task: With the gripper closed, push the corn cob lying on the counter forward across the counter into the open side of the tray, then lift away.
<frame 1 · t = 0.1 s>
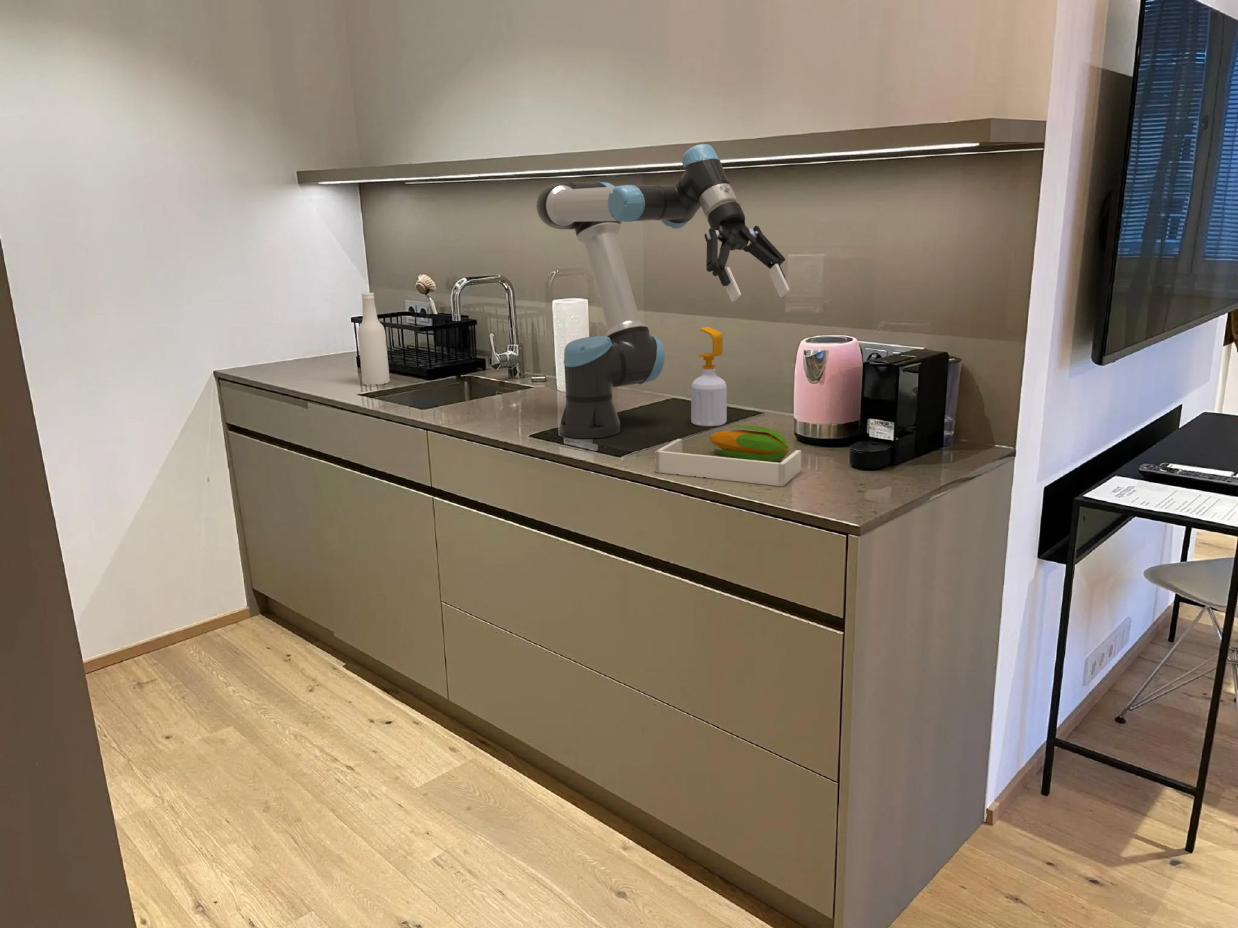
hand: (761, 296, 194), 36 cm above the table, tool tilted 35°, fingers open, 13 cm apart
corn: (745, 459, 206), on the table
soap bottle: (708, 423, 241), on the table
alcohol: (376, 384, 310), on the table
tray: (727, 471, 196), on the table
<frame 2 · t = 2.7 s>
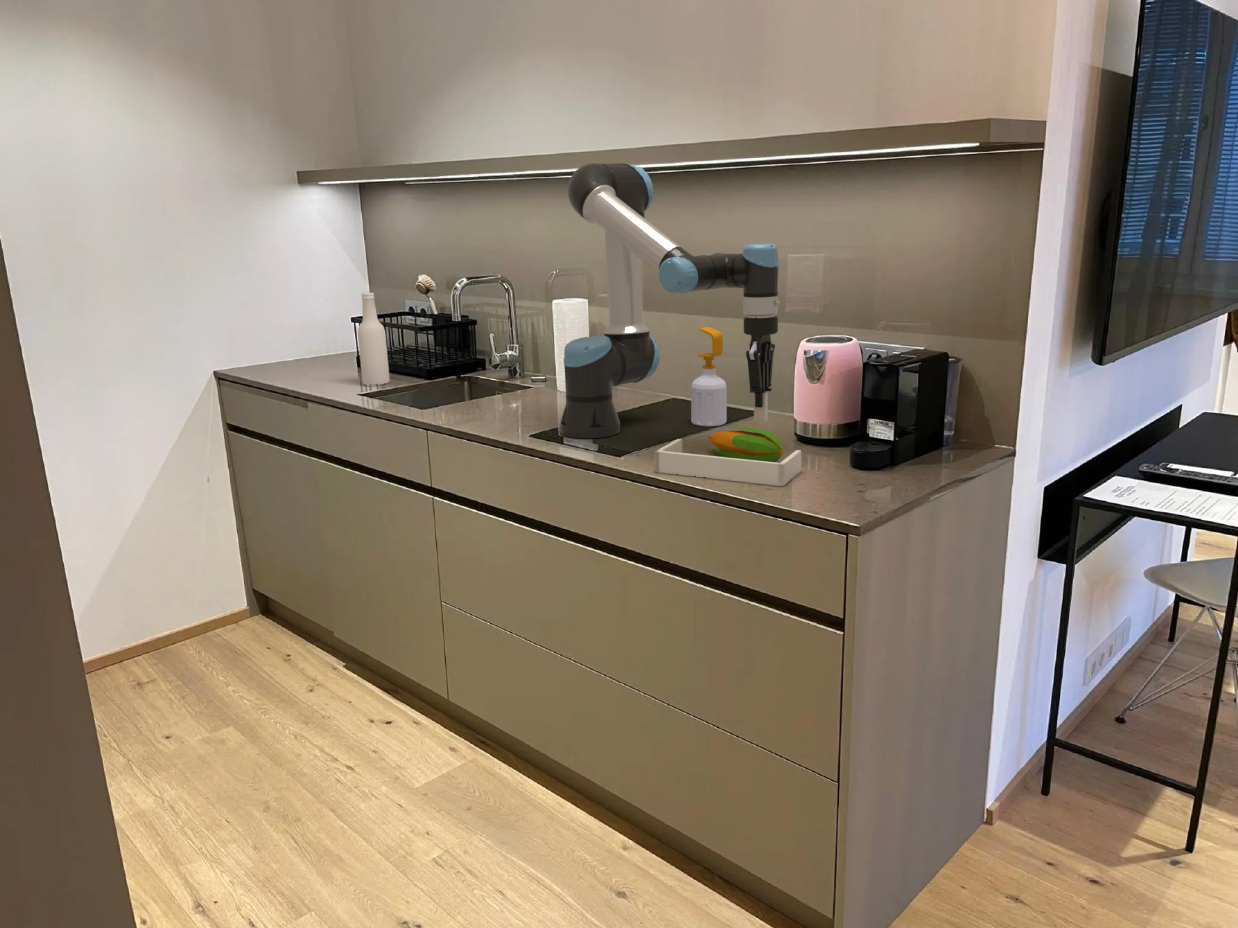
hand: (760, 420, 211), 7 cm above the table, tool pointing down, fingers closed
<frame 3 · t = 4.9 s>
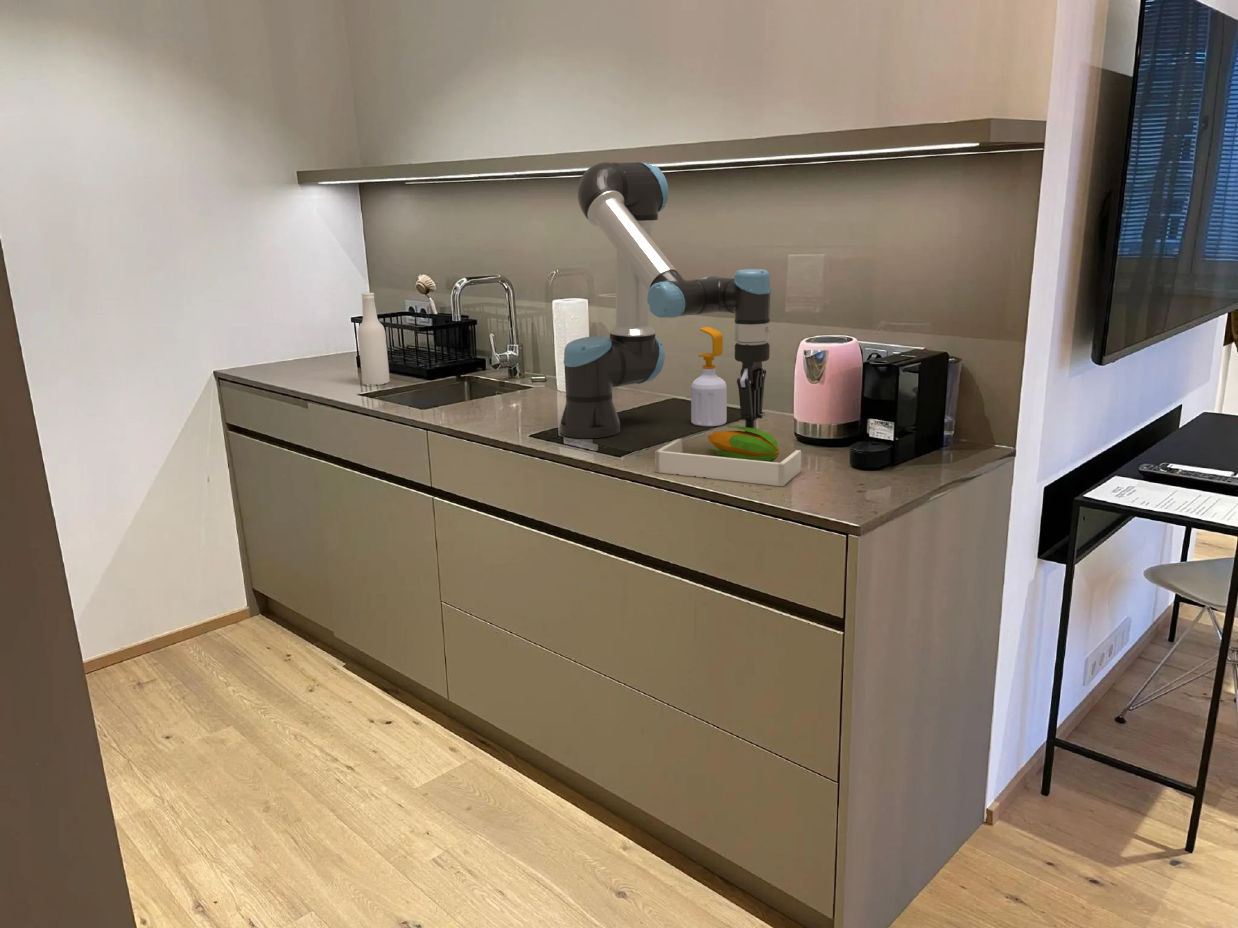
hand: (751, 447, 208), 2 cm above the table, tool pointing down, fingers closed
corn: (740, 460, 205), on the table, touching gripper
everything else where it was.
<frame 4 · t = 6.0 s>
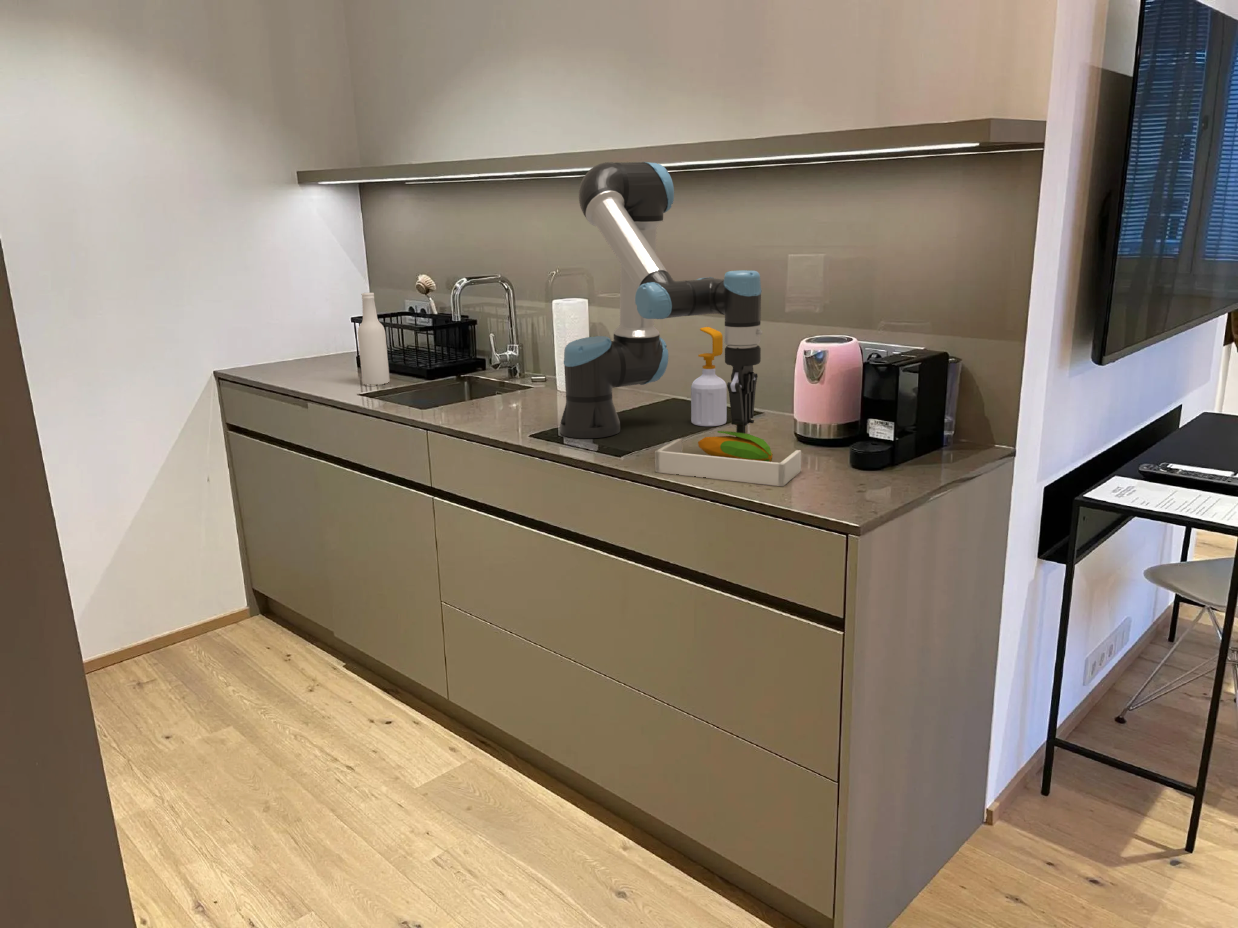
hand: (742, 453, 203), 2 cm above the table, tool pointing down, fingers closed
corn: (732, 466, 200), on the table, touching gripper
everything else where it was.
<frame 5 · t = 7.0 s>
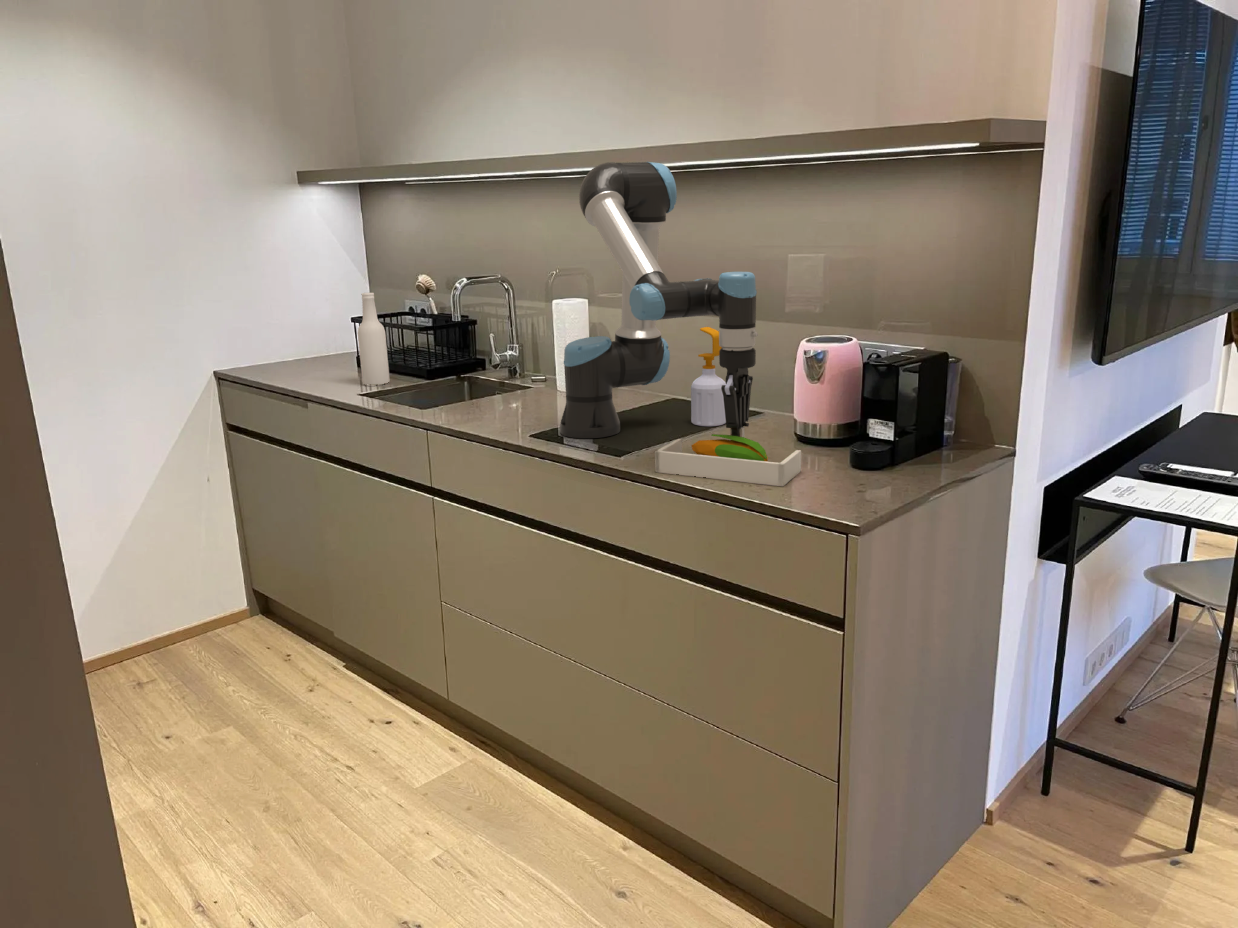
hand: (737, 456, 200), 2 cm above the table, tool pointing down, fingers closed
corn: (726, 470, 197), on the table, touching gripper
everything else where it was.
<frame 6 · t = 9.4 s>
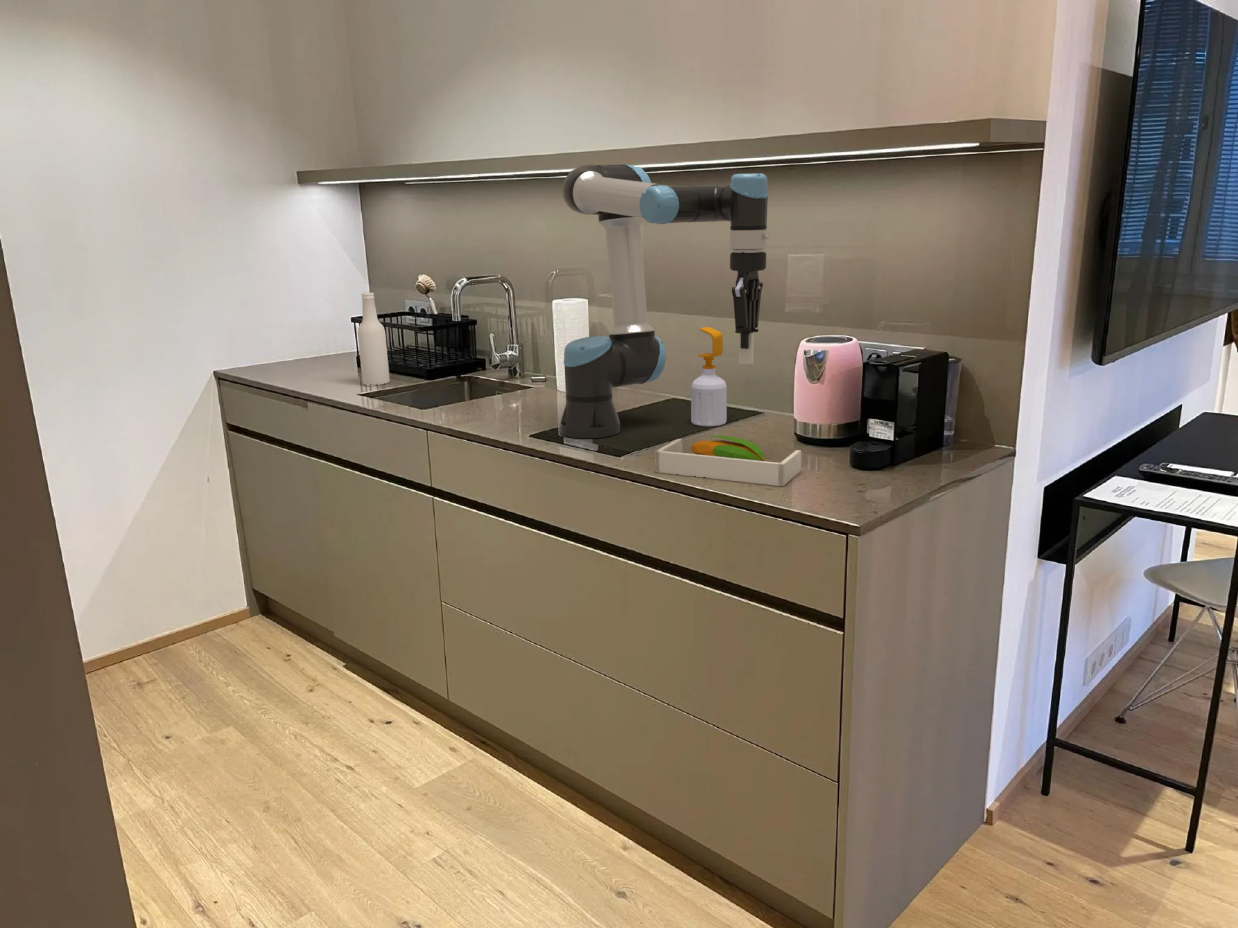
hand: (746, 363, 200), 21 cm above the table, tool pointing down, fingers closed
corn: (724, 471, 197), on the table
everything else where it was.
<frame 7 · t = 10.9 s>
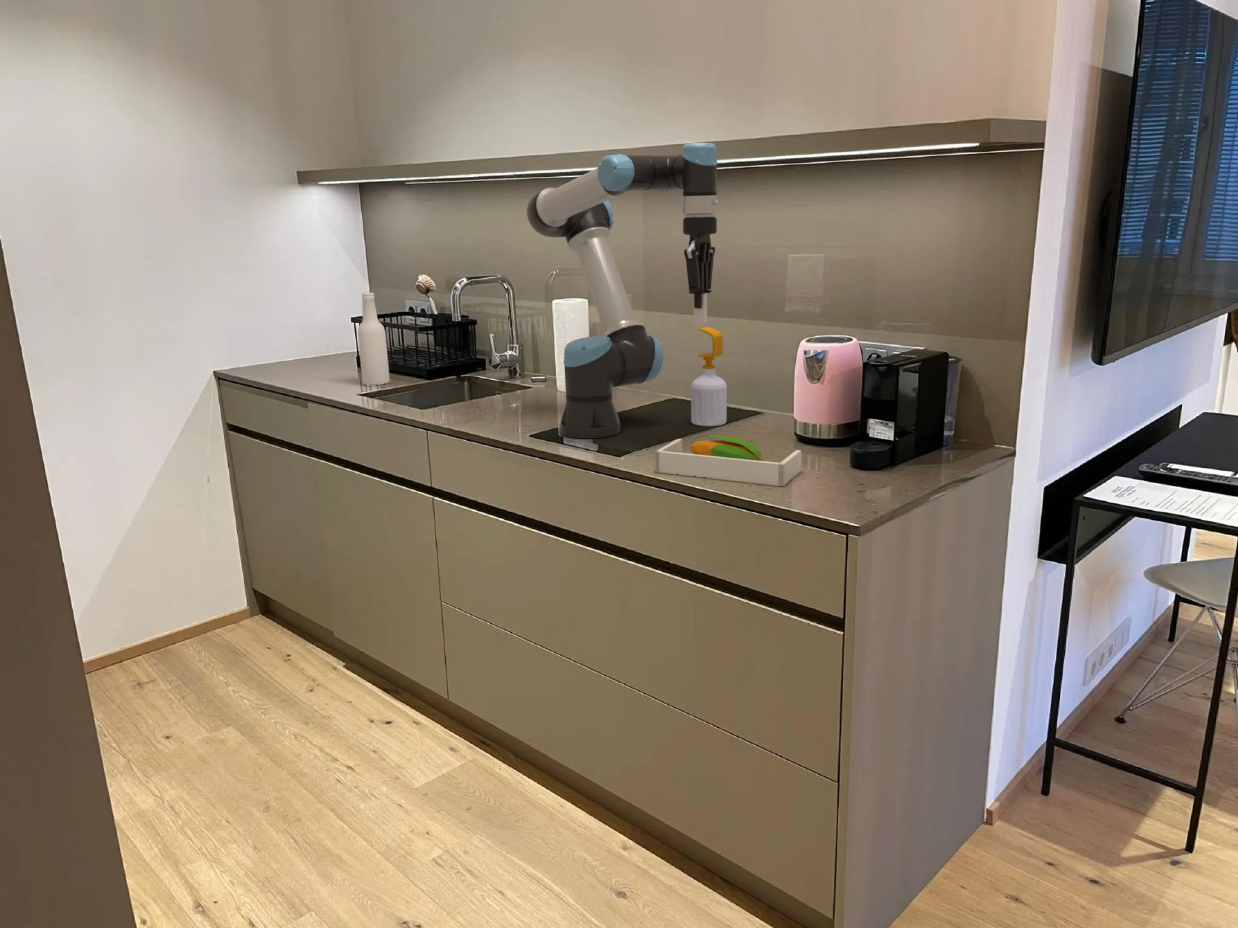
hand: (700, 322, 214), 28 cm above the table, tool pointing down, fingers closed
nothing on the table moved.
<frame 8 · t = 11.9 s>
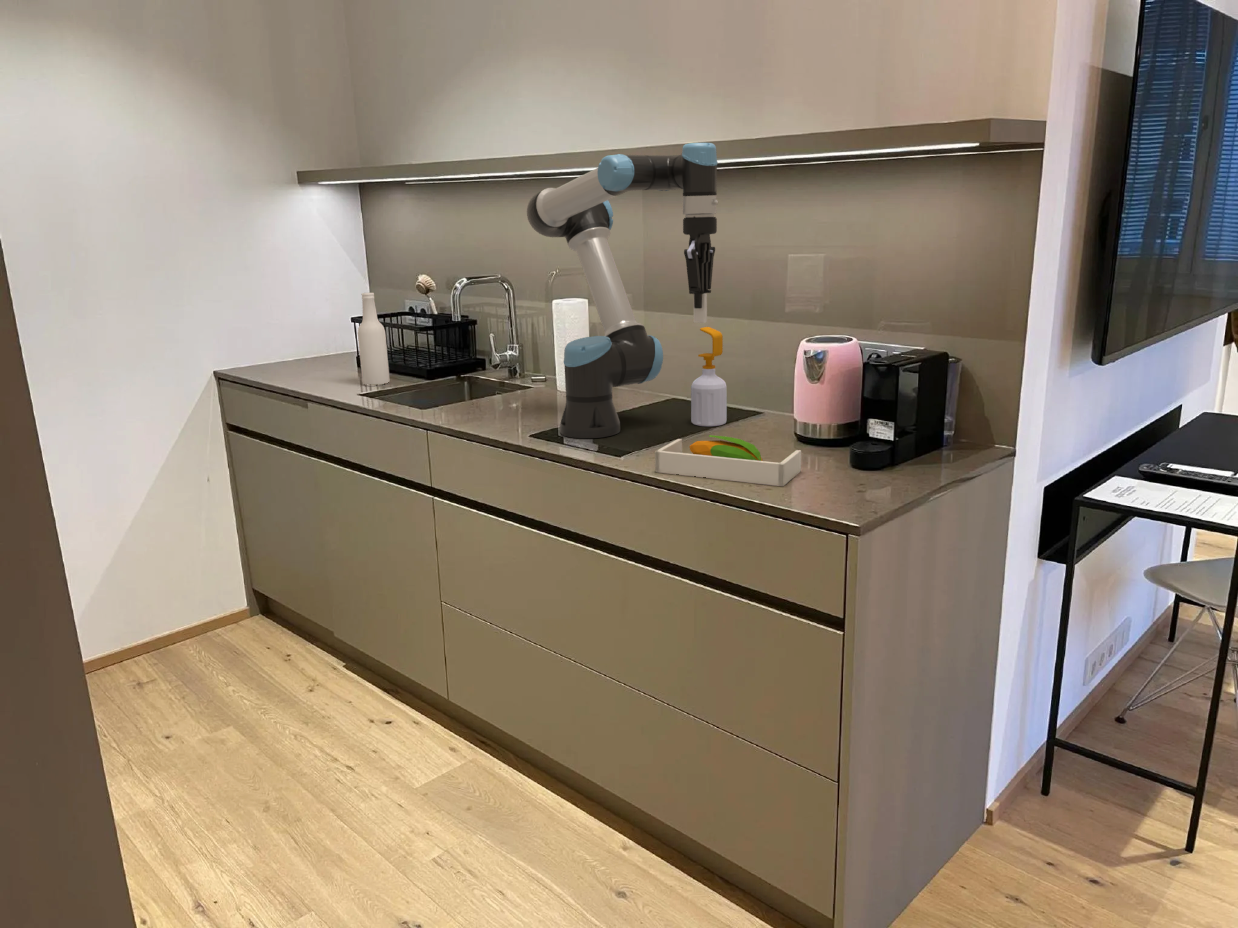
hand: (700, 322, 214), 28 cm above the table, tool pointing down, fingers closed
nothing on the table moved.
at the end: corn inside the target area on the tray (1.7 cm from its centre), point 0.0 cm above the tray's base; corn moved 11.1 cm from its start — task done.
